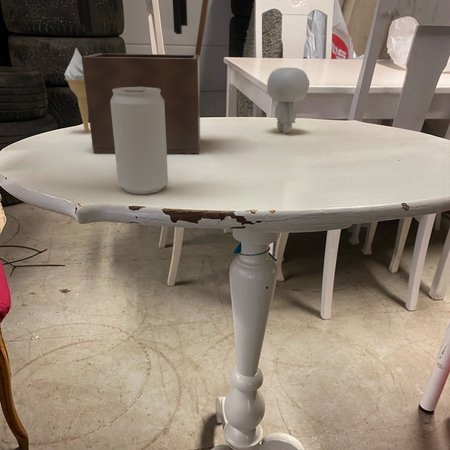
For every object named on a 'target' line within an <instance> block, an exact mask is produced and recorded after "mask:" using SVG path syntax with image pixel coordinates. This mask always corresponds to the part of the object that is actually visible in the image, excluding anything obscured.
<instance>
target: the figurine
mask: <svg viewBox="0 0 450 450" xmlns="http://www.w3.org/2000/svg"><path fill="white" fill-rule="evenodd" d="M309 88H310V79H309V77H308V75H307V73H306V72H305V71H304V70H303V69H301V68H298V67H278V68H276V69H274V70H272V71H271V73H270V74H269V75H268V79H267V83H266V89H267V93H268V96H269V97H270V98H271V100H273V101H276V102H277V104H276V106H275V109H274V118H275V119H276V121H277V123H276V127H277V130H278V131H279V132H281V133H282V132H283V133H285V134H290V133H291V131H292V128H293V124H296V119H297V113H296V106H295V104H294V103H296V102H300V101H302V100H303V99H305V98H306V96H307V94H308V91H309Z"/></svg>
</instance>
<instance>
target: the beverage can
mask: <svg viewBox="0 0 450 450" xmlns="http://www.w3.org/2000/svg"><path fill="white" fill-rule="evenodd" d="M112 91H113V93H114V94H113V96H112V98H111V100H110V104H111V114H112V124H113V134H114V144H115V164H116V174H117V184H118V186H119V187H120V188H122V189H124V191H125V192H127V193H130V194H134V195H148V194H154V193H159V192H160V191H162V190H163V188H165V187H166V186H167V185H168V183H169V175H168V172H169V171H168V154H167V150H166V128H165V106H164V99H163V98H162V96H161V95H160V92H161V89H158V88H150V87H123V88H115V89H112Z"/></svg>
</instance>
